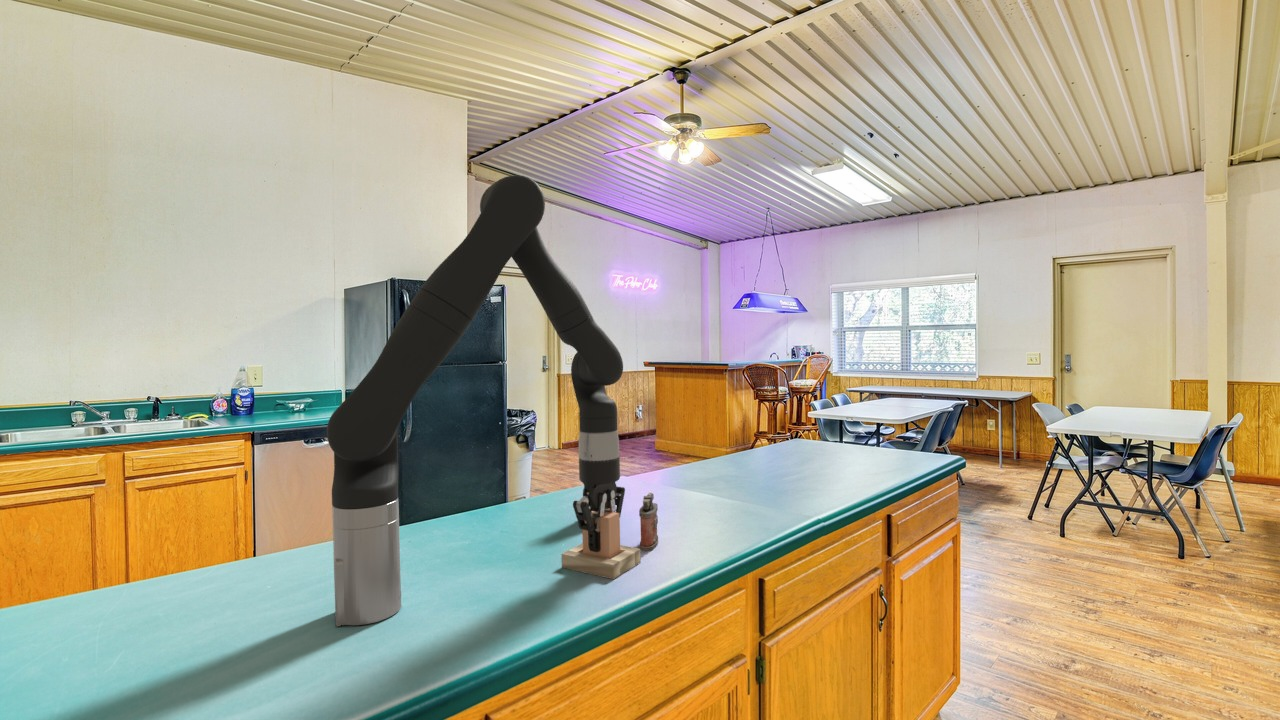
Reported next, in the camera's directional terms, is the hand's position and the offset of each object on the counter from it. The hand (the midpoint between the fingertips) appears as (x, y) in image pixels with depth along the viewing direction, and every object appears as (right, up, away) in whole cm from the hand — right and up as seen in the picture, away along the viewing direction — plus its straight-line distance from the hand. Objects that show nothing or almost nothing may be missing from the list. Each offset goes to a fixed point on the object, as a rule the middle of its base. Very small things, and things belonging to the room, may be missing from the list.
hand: (601, 547), depth 107 cm
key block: (0, -2, 0) cm, 2 cm away
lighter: (+9, -3, +11) cm, 14 cm away
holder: (0, -3, 0) cm, 3 cm away
